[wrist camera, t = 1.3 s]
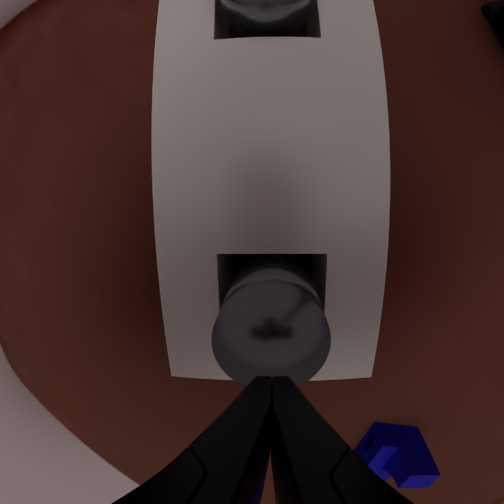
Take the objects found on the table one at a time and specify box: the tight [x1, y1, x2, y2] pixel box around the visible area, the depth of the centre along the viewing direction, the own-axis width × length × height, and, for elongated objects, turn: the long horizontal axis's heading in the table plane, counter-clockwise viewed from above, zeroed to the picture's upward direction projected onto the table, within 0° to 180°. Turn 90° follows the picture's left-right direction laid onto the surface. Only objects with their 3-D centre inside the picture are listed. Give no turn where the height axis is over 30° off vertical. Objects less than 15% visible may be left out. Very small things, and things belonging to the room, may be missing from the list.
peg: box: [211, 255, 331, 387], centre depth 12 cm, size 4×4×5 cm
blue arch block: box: [354, 422, 440, 488], centre depth 19 cm, size 12×4×6 cm, turn 162°
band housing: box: [152, 0, 390, 381], centre depth 15 cm, size 10×22×5 cm, turn 1°
